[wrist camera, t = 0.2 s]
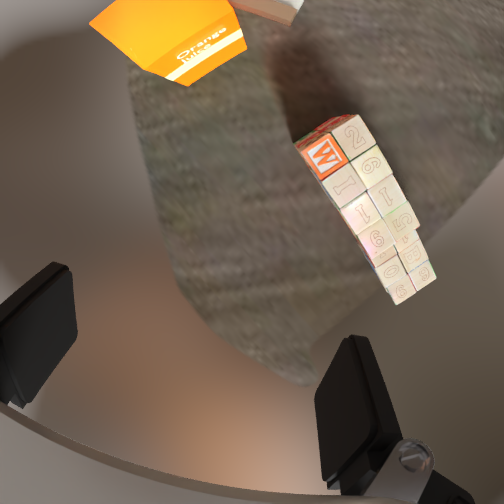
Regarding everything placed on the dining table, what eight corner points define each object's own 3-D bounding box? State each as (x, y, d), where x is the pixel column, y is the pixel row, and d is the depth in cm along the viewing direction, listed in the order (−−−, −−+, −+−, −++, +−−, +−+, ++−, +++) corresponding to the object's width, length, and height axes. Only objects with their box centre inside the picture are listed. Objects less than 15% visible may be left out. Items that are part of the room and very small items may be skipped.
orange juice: (157, 44, 32) (69, -4, 13) (215, 6, 29) (168, -76, 11) (187, 87, 34) (111, 60, 16) (248, 49, 32) (225, -19, 13)
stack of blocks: (409, 249, 41) (448, 291, 29) (374, 272, 42) (403, 321, 31) (332, 115, 35) (359, 112, 23) (290, 143, 36) (299, 151, 25)
